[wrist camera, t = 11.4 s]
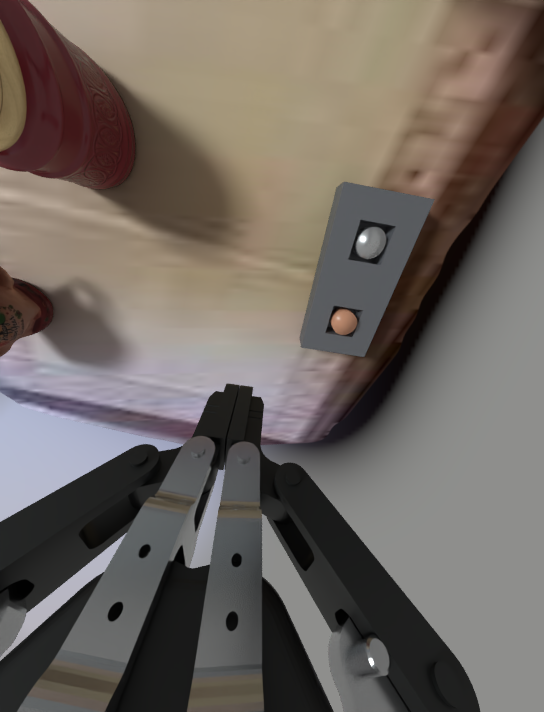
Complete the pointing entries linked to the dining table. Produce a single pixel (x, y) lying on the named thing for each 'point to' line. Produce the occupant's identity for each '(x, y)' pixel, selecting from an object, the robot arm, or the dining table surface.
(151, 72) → the dining table surface
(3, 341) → the brown ceramic mug
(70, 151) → the canister
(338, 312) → the terracotta button
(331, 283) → the button panel
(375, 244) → the steel button
